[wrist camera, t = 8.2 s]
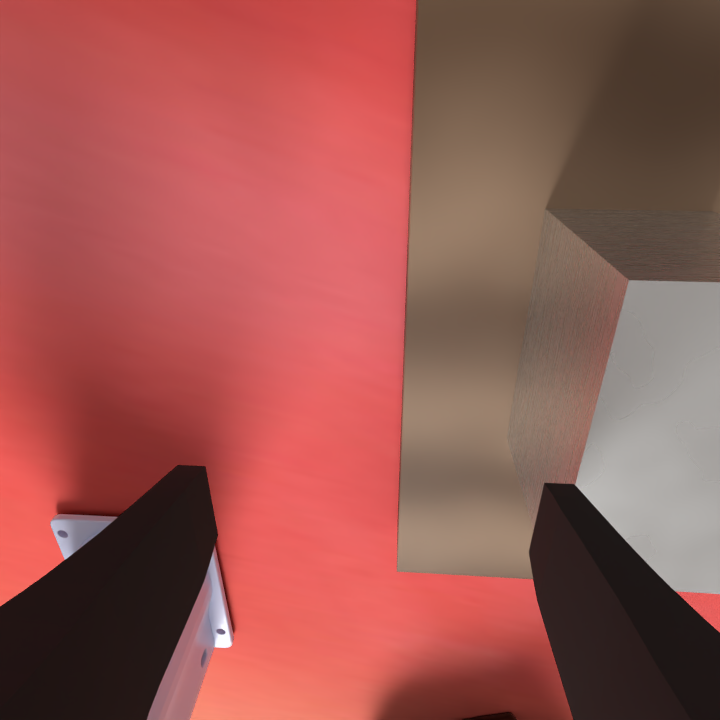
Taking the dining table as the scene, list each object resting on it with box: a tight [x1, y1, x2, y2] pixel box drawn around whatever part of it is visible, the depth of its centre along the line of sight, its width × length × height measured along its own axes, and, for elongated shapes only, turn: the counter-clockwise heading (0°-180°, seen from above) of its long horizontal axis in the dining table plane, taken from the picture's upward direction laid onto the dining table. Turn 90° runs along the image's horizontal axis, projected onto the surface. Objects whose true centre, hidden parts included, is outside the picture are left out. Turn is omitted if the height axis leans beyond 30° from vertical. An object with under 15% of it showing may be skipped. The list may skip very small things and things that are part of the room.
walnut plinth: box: [397, 0, 720, 579], centre depth 17 cm, size 22×12×2 cm, turn 1°
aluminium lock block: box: [507, 209, 720, 594], centre depth 13 cm, size 8×4×6 cm, turn 0°
